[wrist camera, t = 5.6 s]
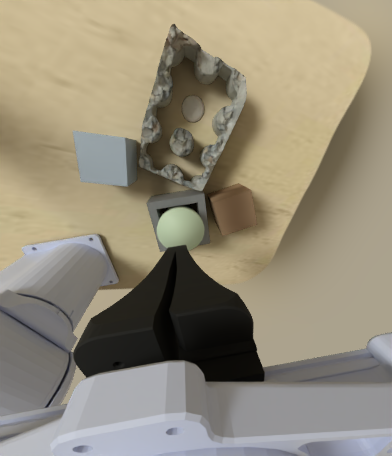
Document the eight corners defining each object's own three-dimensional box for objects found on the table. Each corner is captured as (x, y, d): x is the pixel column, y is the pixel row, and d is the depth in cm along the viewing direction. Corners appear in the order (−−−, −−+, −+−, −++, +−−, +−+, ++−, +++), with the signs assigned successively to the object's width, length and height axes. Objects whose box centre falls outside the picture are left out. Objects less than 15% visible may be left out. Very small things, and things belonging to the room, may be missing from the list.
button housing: (162, 239, 22) (160, 251, 20) (151, 196, 20) (146, 203, 17) (206, 232, 23) (210, 243, 20) (200, 188, 20) (204, 193, 17)
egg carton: (173, 44, 15) (171, 8, 11) (243, 91, 17) (262, 74, 13) (136, 161, 18) (126, 163, 15) (198, 189, 20) (202, 197, 17)
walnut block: (215, 222, 22) (222, 236, 19) (207, 194, 20) (213, 203, 17) (244, 212, 22) (257, 224, 18) (238, 183, 20) (251, 190, 17)
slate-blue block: (100, 175, 19) (80, 181, 15) (95, 135, 17) (72, 130, 13) (137, 179, 19) (127, 186, 15) (136, 140, 17) (125, 137, 14)
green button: (165, 236, 22) (162, 255, 18) (156, 200, 20) (151, 213, 16) (201, 230, 22) (206, 247, 18) (196, 194, 20) (201, 205, 16)
